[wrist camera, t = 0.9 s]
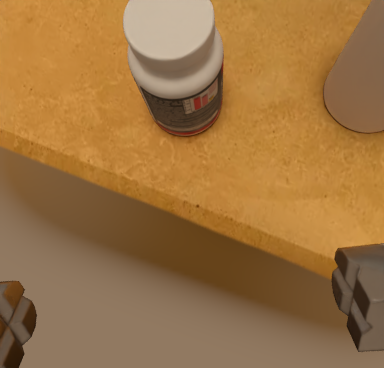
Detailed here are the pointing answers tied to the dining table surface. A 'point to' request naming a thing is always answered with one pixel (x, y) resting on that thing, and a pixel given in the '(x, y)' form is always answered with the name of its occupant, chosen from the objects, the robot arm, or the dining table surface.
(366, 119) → the mug
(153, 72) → the pill bottle
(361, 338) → the robot arm
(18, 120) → the dining table surface
